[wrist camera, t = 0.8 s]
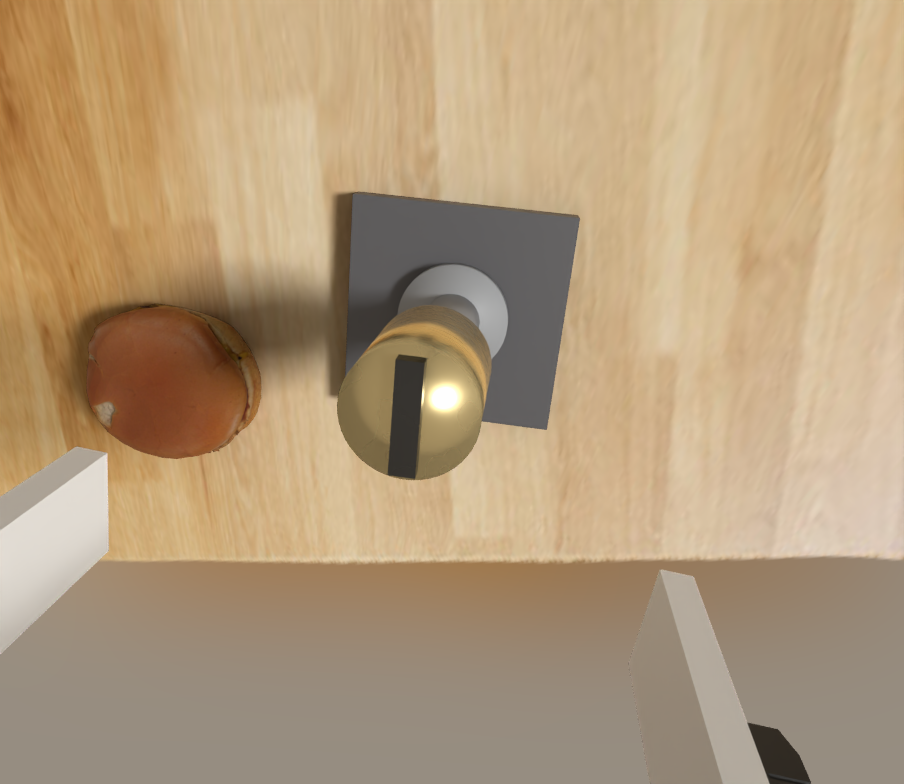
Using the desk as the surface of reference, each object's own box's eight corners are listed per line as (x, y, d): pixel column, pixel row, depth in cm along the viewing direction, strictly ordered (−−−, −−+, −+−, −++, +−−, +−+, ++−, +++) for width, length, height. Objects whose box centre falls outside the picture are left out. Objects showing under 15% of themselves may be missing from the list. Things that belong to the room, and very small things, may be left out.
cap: (377, 298, 29) (335, 340, 23) (498, 312, 29) (488, 359, 23) (371, 410, 31) (330, 477, 25) (484, 425, 31) (471, 497, 24)
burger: (293, 382, 42) (264, 410, 38) (200, 467, 45) (163, 502, 41) (175, 261, 40) (131, 275, 36) (86, 357, 43) (35, 381, 39)
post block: (359, 191, 37) (301, 208, 28) (578, 215, 37) (592, 240, 27) (350, 394, 42) (297, 466, 32) (546, 420, 41) (549, 502, 32)
